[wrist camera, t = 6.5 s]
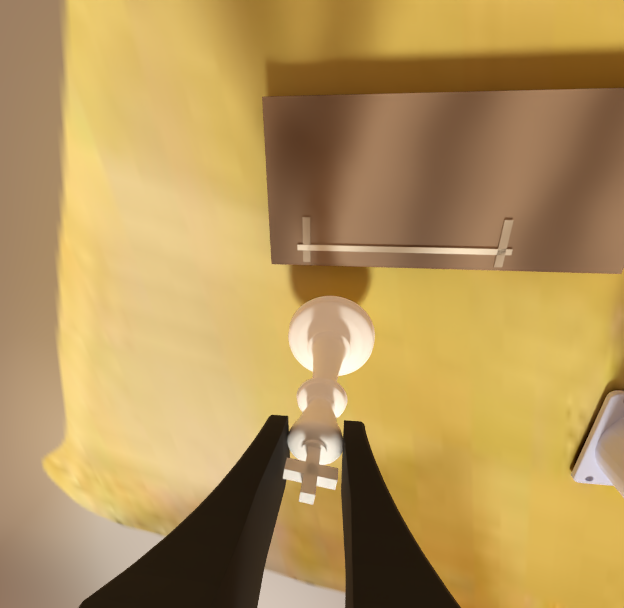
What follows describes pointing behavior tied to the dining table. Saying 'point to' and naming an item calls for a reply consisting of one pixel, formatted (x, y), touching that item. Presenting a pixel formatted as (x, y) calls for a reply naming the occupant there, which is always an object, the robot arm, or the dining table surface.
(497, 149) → the walnut board
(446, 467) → the dining table surface
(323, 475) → the chess piece
